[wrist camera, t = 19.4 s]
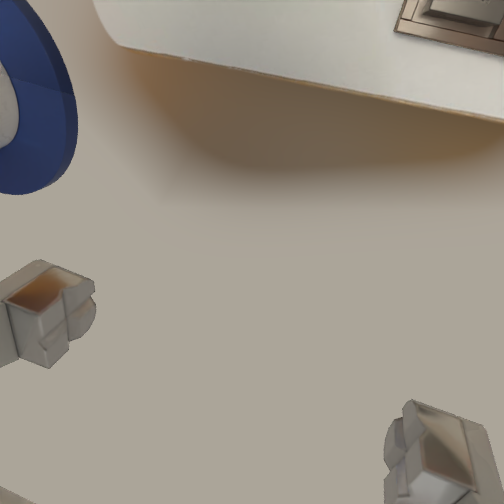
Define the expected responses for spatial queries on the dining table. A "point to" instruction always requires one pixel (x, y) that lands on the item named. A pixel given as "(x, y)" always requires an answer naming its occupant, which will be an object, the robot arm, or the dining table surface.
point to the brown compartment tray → (456, 23)
